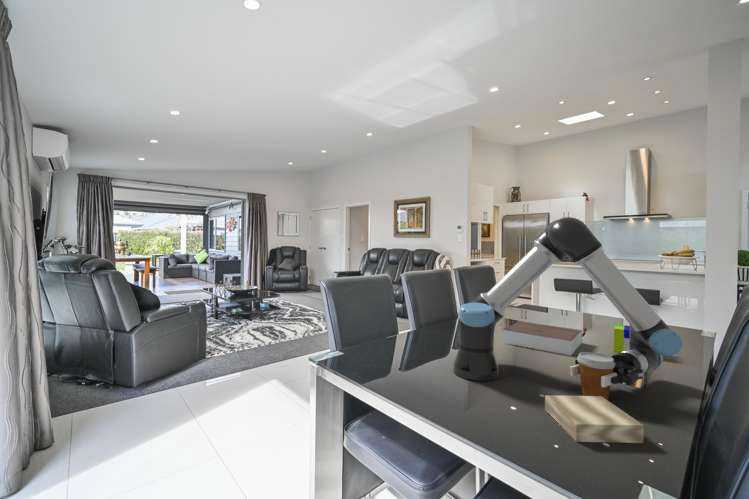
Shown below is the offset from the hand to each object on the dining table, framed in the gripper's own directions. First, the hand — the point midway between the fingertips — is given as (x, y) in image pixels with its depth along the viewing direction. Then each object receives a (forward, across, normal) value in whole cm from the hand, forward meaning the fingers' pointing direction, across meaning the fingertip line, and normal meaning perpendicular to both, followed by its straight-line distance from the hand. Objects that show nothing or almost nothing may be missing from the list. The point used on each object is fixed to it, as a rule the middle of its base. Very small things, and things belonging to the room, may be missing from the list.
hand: (586, 376), depth 99 cm
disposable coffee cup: (-5, 0, -7) cm, 9 cm away
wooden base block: (+13, -8, -7) cm, 17 cm away
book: (-42, +44, -8) cm, 61 cm away
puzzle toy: (-64, +19, -7) cm, 67 cm away
